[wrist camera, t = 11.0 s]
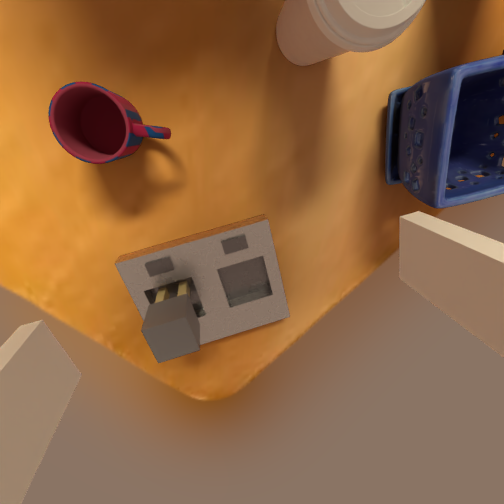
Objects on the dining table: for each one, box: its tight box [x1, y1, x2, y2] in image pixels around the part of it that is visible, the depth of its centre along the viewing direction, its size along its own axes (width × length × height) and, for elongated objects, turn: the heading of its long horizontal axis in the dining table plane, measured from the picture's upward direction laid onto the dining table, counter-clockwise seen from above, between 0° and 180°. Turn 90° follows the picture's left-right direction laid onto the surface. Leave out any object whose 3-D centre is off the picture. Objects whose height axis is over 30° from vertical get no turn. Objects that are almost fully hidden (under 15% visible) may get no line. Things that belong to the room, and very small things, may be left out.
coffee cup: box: [276, 0, 426, 66], centre depth 24 cm, size 10×10×15 cm
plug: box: [141, 281, 200, 363], centre depth 36 cm, size 5×5×10 cm
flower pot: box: [385, 55, 504, 208], centre depth 32 cm, size 13×13×12 cm
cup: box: [49, 82, 171, 164], centre depth 29 cm, size 7×10×7 cm
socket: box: [115, 214, 290, 345], centre depth 40 cm, size 16×20×3 cm
